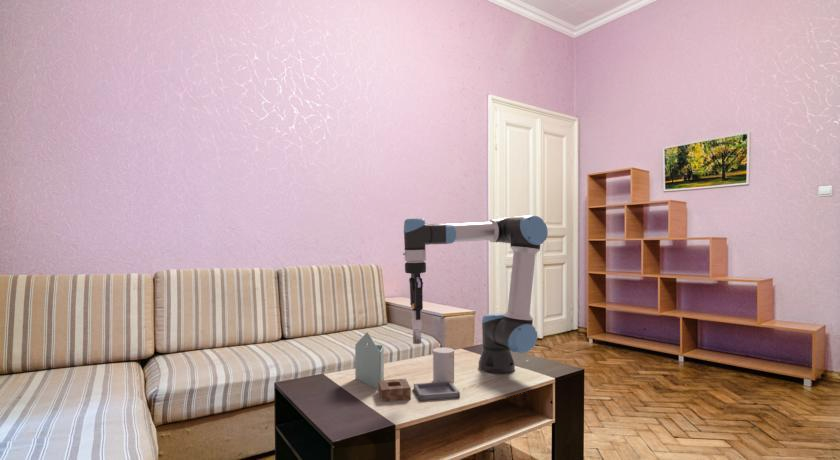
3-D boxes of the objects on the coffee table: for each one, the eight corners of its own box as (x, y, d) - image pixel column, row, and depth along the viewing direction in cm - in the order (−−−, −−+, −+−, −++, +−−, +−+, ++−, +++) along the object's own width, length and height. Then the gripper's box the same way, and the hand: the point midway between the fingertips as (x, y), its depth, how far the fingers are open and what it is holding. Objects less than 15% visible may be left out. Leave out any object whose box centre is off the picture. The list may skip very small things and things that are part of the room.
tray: (450, 386, 165) (450, 381, 165) (459, 397, 154) (459, 392, 154) (413, 388, 162) (413, 383, 162) (420, 400, 151) (420, 395, 151)
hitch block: (405, 389, 162) (405, 378, 162) (410, 399, 152) (410, 387, 152) (378, 391, 160) (378, 380, 160) (381, 401, 150) (381, 389, 150)
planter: (396, 384, 167) (396, 332, 167) (379, 389, 162) (379, 335, 162) (371, 374, 179) (371, 326, 180) (354, 379, 174) (354, 328, 174)
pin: (412, 342, 159) (411, 303, 159) (420, 341, 159) (419, 302, 159) (413, 344, 156) (412, 304, 156) (422, 343, 156) (421, 304, 156)
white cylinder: (452, 385, 166) (452, 353, 166) (431, 384, 168) (431, 352, 168) (455, 378, 174) (455, 348, 174) (435, 377, 176) (434, 347, 176)
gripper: (401, 260, 165) (403, 323, 165) (408, 263, 149) (410, 333, 149) (421, 260, 166) (422, 322, 166) (430, 262, 151) (432, 331, 150)
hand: (416, 327), depth 158 cm, fingers closed on pin, 3 cm apart
